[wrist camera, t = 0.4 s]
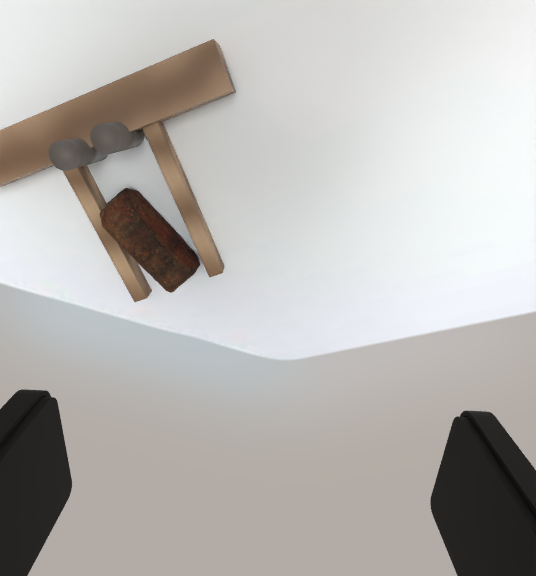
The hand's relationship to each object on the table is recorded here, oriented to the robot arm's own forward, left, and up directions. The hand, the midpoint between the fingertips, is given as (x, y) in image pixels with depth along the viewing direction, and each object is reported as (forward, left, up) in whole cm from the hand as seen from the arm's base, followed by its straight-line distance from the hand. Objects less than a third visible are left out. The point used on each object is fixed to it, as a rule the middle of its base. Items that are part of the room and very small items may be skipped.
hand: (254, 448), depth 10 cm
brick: (+1, -13, -36) cm, 38 cm away
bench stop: (-3, -13, -35) cm, 38 cm away
